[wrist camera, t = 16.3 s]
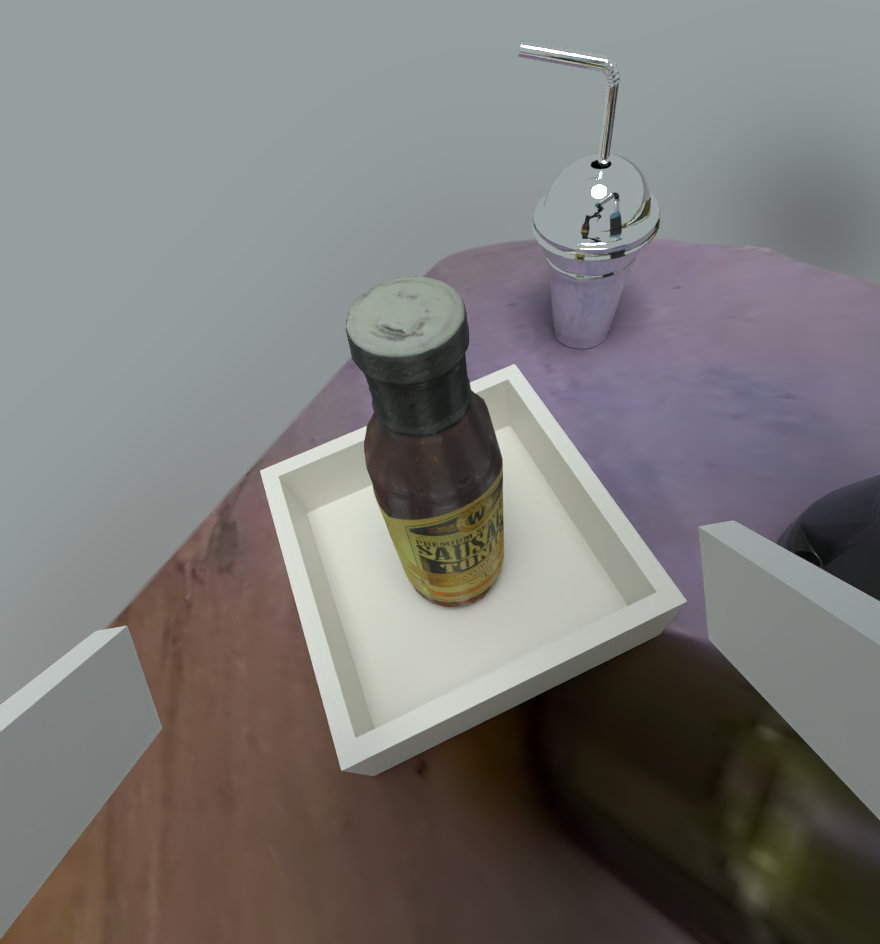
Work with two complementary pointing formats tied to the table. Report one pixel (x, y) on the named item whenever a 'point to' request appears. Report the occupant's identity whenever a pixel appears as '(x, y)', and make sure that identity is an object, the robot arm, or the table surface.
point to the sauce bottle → (429, 439)
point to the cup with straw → (591, 220)
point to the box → (470, 626)
